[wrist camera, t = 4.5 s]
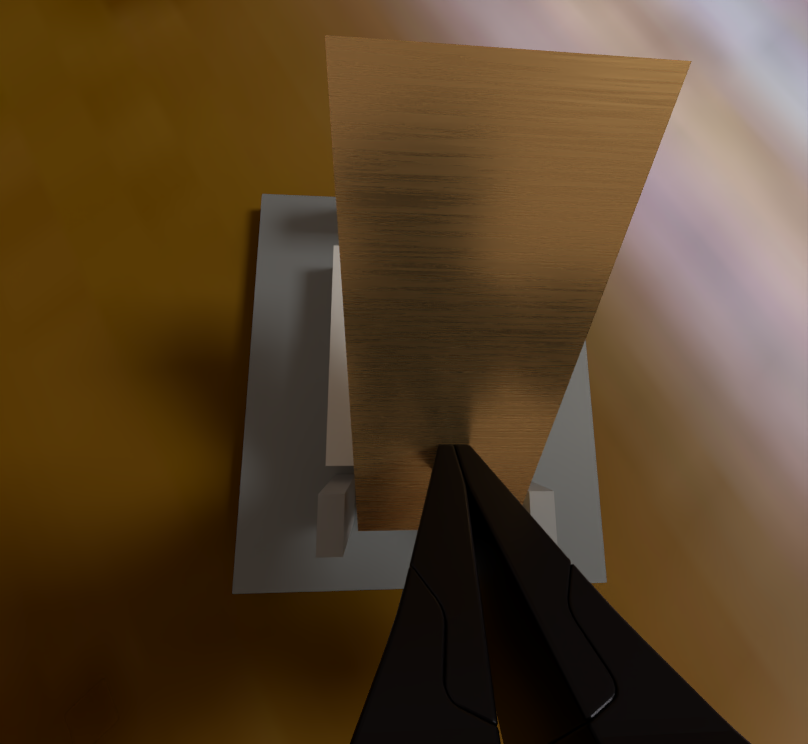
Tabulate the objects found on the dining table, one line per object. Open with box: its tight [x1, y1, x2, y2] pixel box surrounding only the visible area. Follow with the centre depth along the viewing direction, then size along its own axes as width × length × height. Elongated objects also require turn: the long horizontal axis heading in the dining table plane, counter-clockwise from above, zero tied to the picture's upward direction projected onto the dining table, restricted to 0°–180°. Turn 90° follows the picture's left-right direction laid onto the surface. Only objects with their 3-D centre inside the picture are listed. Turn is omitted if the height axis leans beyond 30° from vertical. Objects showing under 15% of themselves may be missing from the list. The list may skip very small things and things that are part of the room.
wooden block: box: [325, 35, 691, 531], centre depth 7 cm, size 1×5×11 cm
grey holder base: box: [232, 194, 607, 594], centre depth 12 cm, size 17×15×5 cm
